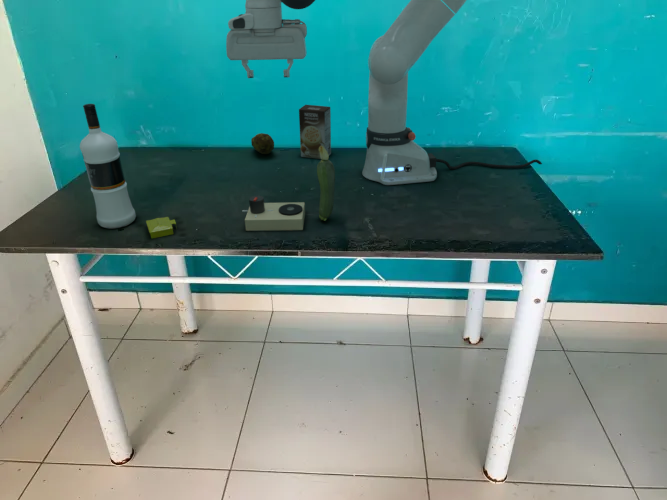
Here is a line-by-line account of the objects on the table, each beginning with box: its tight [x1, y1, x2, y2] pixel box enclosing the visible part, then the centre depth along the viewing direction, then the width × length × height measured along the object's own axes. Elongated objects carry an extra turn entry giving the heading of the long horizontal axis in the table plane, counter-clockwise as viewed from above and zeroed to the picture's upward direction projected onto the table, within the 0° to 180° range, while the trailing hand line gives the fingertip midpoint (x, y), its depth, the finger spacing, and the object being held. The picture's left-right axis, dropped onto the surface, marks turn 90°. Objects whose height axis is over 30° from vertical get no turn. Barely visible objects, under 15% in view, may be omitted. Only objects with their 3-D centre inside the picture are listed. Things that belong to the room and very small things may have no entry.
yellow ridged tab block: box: [141, 216, 182, 239], centre depth 129 cm, size 10×9×3 cm
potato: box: [250, 132, 275, 155], centre depth 176 cm, size 8×13×8 cm, turn 1°
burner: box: [279, 204, 303, 216], centre depth 131 cm, size 6×6×1 cm
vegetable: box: [316, 146, 336, 222], centre depth 127 cm, size 4×4×20 cm
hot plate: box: [241, 201, 306, 232], centre depth 132 cm, size 15×10×3 cm, turn 89°
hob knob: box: [248, 195, 265, 214], centre depth 130 cm, size 4×4×4 cm
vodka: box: [79, 103, 137, 230], centre depth 127 cm, size 9×9×30 cm
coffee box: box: [298, 104, 332, 160], centre depth 172 cm, size 9×6×16 cm
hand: (268, 77), depth 136 cm, fingers open, 8 cm apart
